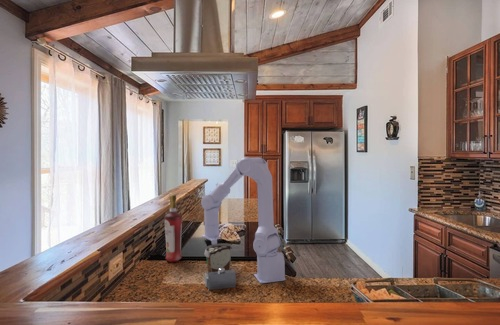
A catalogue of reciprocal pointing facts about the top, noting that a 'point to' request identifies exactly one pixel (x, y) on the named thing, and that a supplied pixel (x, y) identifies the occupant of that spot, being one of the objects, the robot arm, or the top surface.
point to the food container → (218, 257)
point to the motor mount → (220, 279)
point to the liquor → (173, 232)
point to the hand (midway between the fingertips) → (212, 257)
